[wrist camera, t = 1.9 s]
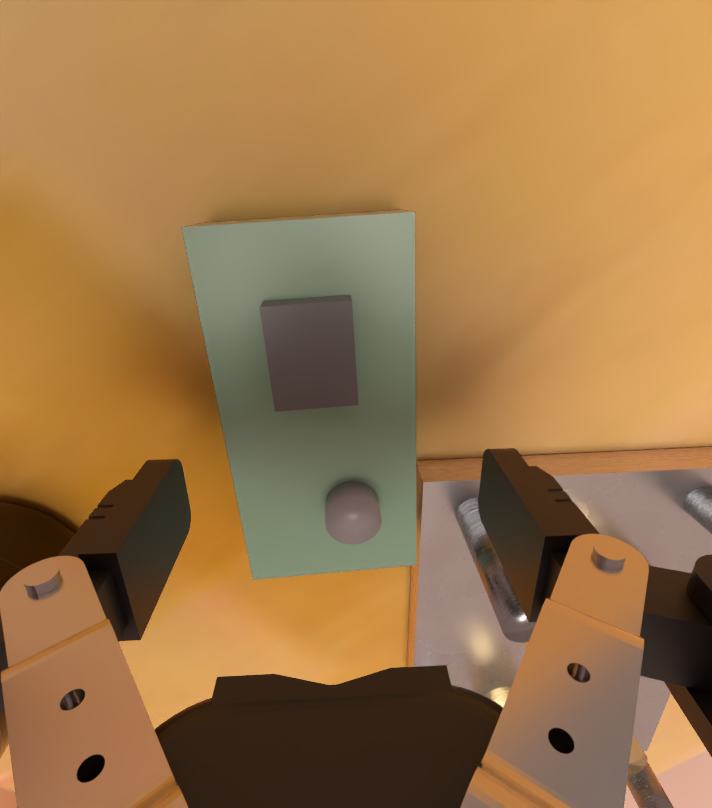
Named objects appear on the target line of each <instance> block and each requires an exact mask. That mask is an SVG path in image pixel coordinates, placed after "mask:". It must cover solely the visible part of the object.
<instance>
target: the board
mask: <svg viewBox="0 0 712 808" xmlns="http://www.w3.org/2000/svg"><path fill="white" fill-rule="evenodd" d="M181 228H182V233H183V238H184V243H185V248H186V253H187V258H188V263H189V268H190V272H191V277H192V282H193V287H194V292H195V297H196V302H197V307H198V312H199V317H200V322H201V326H202V331H203V336H204V341H205V346H206V351H207V356H208V361H209V366H210V371H211V376H212V380H213V385H214V390H215V395H216V400H217V405H218V410H219V415H220V420H221V425H222V430H223V434H224V439H225V444H226V449H227V454H228V459H229V464H230V469H231V474H232V479H233V484H234V489H235V493H236V498H237V503H238V508H239V513H240V518H241V523H242V528H243V533H244V538H245V543H246V547H247V552H248V557H249V562H250V567H251V572H252V577H253V580H256V579H267V578H278V577H289V576H300V575H311V574H322V573H333V572H345V571H356V570H367V569H378V568H389V567H400V566H411V565H417V526H416V333H415V212H413V211H407V210H385V211H369V212H354V213H339V214H324V215H309V216H294V217H279V218H264V219H249V220H233V221H218V222H205V223H200V224H195V225H190V226H185V227H181Z"/></svg>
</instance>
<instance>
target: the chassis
mask: <svg viewBox="0 0 712 808" xmlns="http://www.w3.org/2000/svg"><path fill="white" fill-rule="evenodd" d="M522 458H523V459H524V460H525V462H526V463H527V464H528V465H529V466H537V467H539V468H540V469H542V470H544V471H545V472H547V473H548V474H550V475H551V476H553V477H554V478H555V480H556V481H557V482H558V483H559V484H560V486H561V487H562V488H563V491H565V492H566V493H567V494H568V495H569V497H570V498H571V501H572V502H574V503H575V504H576V505H577V506H578V508H579V509H580V510H581V511H582V513H583V514H584V515H585V516H586V517H587V519H588V520H589V521H590V522H591V524H592V525H593V526H594V527H595V528H596V530H597V531H598V532H599V533H600V534H601V535H606V536H610V537H614V538H616V539H619V540H621V541H623V542H625V543H627V544H629V545H630V546H632V547H633V548H635V549H636V550H637V551H638V552H640V553H641V554H642V556H643V557H644V558H645V559H646V561H647V563H648V565H650V566H655V567H660V568H665V569H671V570H676V571H682V572H687V573H692V570H693V568H694V565H695V562H696V560H697V559H698V558H700V557H702V556H705V555H711V554H712V447H696V448H675V449H654V450H633V451H612V452H591V453H570V454H549V455H528V456H522ZM482 461H483V458H466V459H445V460H424V461H416V526H417V565H411V585H410V608H409V632H408V655H407V667H420V666H439V665H446V666H447V670H448V674H449V678H450V682H451V685H454V686H459V687H462V688H465V689H468V690H471V691H474V692H476V693H479V694H481V695H483V696H485V697H487V698H489V699H491V700H492V701H494V702H496V703H498V704H499V705H501V706H502V707H504V704H505V702H506V699H507V696H508V694H509V691H510V689H511V686H512V684H513V681H514V678H515V676H516V673H517V671H518V668H519V666H520V663H521V660H522V658H523V655H524V653H525V650H526V648H527V645H528V642H529V640H530V637H531V635H532V632H533V630H534V627H535V624H536V622H529V621H528V619H527V617H526V615H525V613H524V611H523V609H522V607H521V605H520V602H519V600H518V598H517V596H516V594H515V592H514V590H513V588H512V585H511V583H510V581H509V579H508V577H507V575H506V573H505V571H504V569H503V566H502V564H501V562H500V560H499V558H498V556H497V554H496V552H495V550H494V547H493V545H492V543H491V541H490V539H489V537H488V535H487V533H486V530H485V528H484V526H483V524H482V522H481V519H480V515H479V508H478V496H479V487H480V478H481V470H482ZM670 693H671V692H670V690H669V689H668V687H667V686H666V684H665V683H664V681H660V680H656V679H652V678H648V677H643V676H640V682H639V690H638V698H637V706H636V714H635V722H634V730H633V737H632V745H631V753H630V761H629V769H628V777H627V786H628V788H629V789H630V791H631V793H632V795H633V797H634V799H635V801H636V803H637V805H638V807H639V808H674V807H673V806H672V804H671V802H670V801H669V799H668V797H667V795H666V794H665V792H664V790H663V788H662V786H661V785H660V783H659V781H658V779H657V778H656V776H655V774H654V772H653V771H652V769H651V767H650V765H649V764H648V762H647V756H646V755H645V753H644V751H647V749H648V747H649V745H650V742H651V740H652V737H653V735H654V732H655V730H656V727H657V725H658V723H659V720H660V718H661V715H662V713H663V710H664V708H665V706H666V703H667V701H668V698H669V696H670Z"/></svg>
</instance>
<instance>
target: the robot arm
mask: <svg viewBox="0 0 712 808" xmlns="http://www.w3.org/2000/svg"><path fill="white" fill-rule="evenodd" d="M478 508H479V515H480V519H481V522H482V524H483V526H484V528H485V530H486V533H487V535H488V537H489V539H490V541H491V543H492V545H493V547H494V550H495V552H496V554H497V556H498V558H499V560H500V562H501V564H502V566H503V569H504V571H505V573H506V575H507V577H508V579H509V581H510V583H511V585H512V588H513V590H514V592H515V594H516V596H517V598H518V600H519V602H520V605H521V607H522V609H523V611H524V613H525V615H526V617H527V619H528V621H529V622H536V624H535V627H534V630H533V632H532V635H531V637H530V640H529V642H528V645H527V648H526V650H525V653H524V655H523V658H522V660H521V663H520V666H519V668H518V671H517V673H516V676H515V678H514V681H513V684H512V686H511V689H510V691H509V694H508V696H507V699H506V702H505V704H504V707H502V706H501V705H499V704H498V703H496V702H494V701H492V700H491V699H489V698H487V697H485V696H483V695H481V694H479V693H476V692H474V691H471V690H468V689H465V688H462V687H459V686H454V685H451V682H450V678H449V674H448V670H447V666H446V665H439V666H420V667H400V668H389V669H386V670H383V671H380V672H376V673H373V674H370V675H367V676H364V677H360V678H357V679H354V680H351V681H347V682H344V683H341V684H337V685H325V684H321V683H316V682H311V681H306V680H301V679H296V678H291V677H286V676H281V675H276V674H266V675H247V676H227V677H217V680H216V684H215V688H214V692H213V696H212V698H210V699H207V700H204V701H202V702H199V703H197V704H195V705H192V706H190V707H188V708H186V709H185V710H183V711H181V712H179V713H177V714H175V715H174V716H173V717H171V718H170V719H168V720H167V721H165V722H164V723H162V724H161V725H160V726H158V727H157V728H156V729H155V730H154V728H153V725H152V723H151V720H150V718H149V715H148V713H147V710H146V708H145V706H144V703H143V701H142V698H141V696H140V693H139V691H138V688H137V686H136V684H135V681H134V679H133V676H132V674H131V671H130V669H129V666H128V664H127V662H126V659H125V657H124V654H123V652H122V649H121V647H120V645H119V641H128V640H141V638H142V635H143V633H144V631H145V629H146V627H147V624H148V622H149V620H150V618H151V615H152V613H153V611H154V609H155V606H156V604H157V602H158V600H159V597H160V595H161V593H162V591H163V588H164V586H165V584H166V582H167V579H168V577H169V575H170V573H171V570H172V568H173V566H174V564H175V561H176V559H177V557H178V555H179V552H180V550H181V548H182V546H183V543H184V541H185V539H186V537H187V534H188V532H189V528H190V521H191V511H190V505H189V499H188V494H187V489H186V483H185V478H184V473H183V468H182V464H181V462H180V461H179V460H178V459H167V460H148V461H146V462H145V464H144V465H143V466H142V468H141V469H140V470H139V472H138V473H137V474H136V476H135V477H134V478H133V480H125V481H124V482H122V483H121V484H119V485H118V486H116V487H115V488H113V489H112V490H110V491H109V492H108V493H107V494H106V495H105V497H104V498H103V499H102V501H101V502H100V503H99V504H98V508H95V509H94V511H93V512H92V513H91V514H90V516H89V519H88V520H86V521H85V522H84V523H83V525H82V526H81V527H80V528H79V530H78V531H77V532H76V533H75V535H74V536H73V537H72V538H71V540H70V541H69V542H68V544H67V545H66V546H65V547H64V549H63V550H62V551H61V552H60V554H59V555H58V556H57V557H51V558H47V559H44V560H41V561H38V562H36V563H34V564H32V565H30V566H28V567H26V568H24V569H23V570H21V571H19V572H18V573H17V574H15V575H14V576H13V577H12V578H11V579H10V580H8V581H7V583H6V584H5V585H4V586H3V588H2V590H1V591H0V714H1V713H4V712H5V715H6V723H7V731H8V739H9V747H10V755H11V763H12V771H13V779H14V787H15V795H16V802H17V808H624V801H625V792H626V785H627V777H628V769H629V761H630V753H631V745H632V737H633V730H634V722H635V714H636V706H637V698H638V690H639V682H640V676H643V677H648V678H652V679H656V680H660V681H664V683H665V684H666V686H667V687H668V689H669V690H670V692H671V694H672V695H673V697H674V698H675V700H676V701H677V703H678V705H679V706H680V708H681V709H682V711H683V713H684V714H685V716H686V717H687V719H688V720H689V722H690V724H691V725H692V727H693V728H694V730H695V731H696V733H697V735H698V736H699V738H700V739H701V741H702V743H703V744H704V746H705V747H706V749H707V750H708V752H709V754H710V755H711V757H712V554H711V555H705V556H702V557H700V558H698V559H697V560H696V562H695V565H694V568H693V570H692V573H687V572H682V571H676V570H671V569H665V568H660V567H655V566H650V565H648V563H647V561H646V559H645V558H644V557H643V556H642V554H641V553H640V552H638V551H637V550H636V549H635V548H633V547H632V546H630V545H629V544H627V543H625V542H623V541H621V540H619V539H616V538H614V537H610V536H606V535H601V534H600V533H599V532H598V531H597V530H596V528H595V527H594V526H593V525H592V524H591V522H590V521H589V520H588V519H587V517H586V516H585V515H584V514H583V513H582V511H581V510H580V509H579V508H578V506H577V505H576V504H575V503H574V502H572V501H571V498H570V497H569V495H568V494H567V493H566V492H565V491H563V488H562V487H561V486H560V484H559V483H558V482H557V481H556V480H555V478H554V477H553V476H551V475H550V474H548V473H547V472H545V471H544V470H542V469H540V468H539V467H537V466H529V465H528V464H527V463H526V462H525V460H524V459H523V458H522V456H521V455H520V454H519V452H518V451H517V450H516V449H514V448H509V449H487V450H485V452H484V455H483V461H482V470H481V478H480V487H479V496H478Z"/></svg>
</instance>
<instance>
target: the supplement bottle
mask: <svg viewBox="0 0 712 808" xmlns="http://www.w3.org/2000/svg"><path fill="white" fill-rule="evenodd" d="M74 535H75V534H74V533H73V532H72V531H71V530H70V529H69V528H68V527H66V526H65V525H64V524H62V523H61V522H59V521H58V520H56V519H54V518H52V517H51V516H49V515H46V514H44V513H42V512H40V511H37V510H35V509H32V508H28V507H25V506H21V505H17V504H11V503H4V502H0V591H1V590H2V588H3V586H4V585H5V584H6V583H7V581H8V580H10V579H11V578H12V577H13V576H14V575H15V574H17V573H18V572H19V571H21V570H23V569H24V568H26V567H28V566H30V565H32V564H34V563H36V562H38V561H41V560H44V559H47V558H51V557H57V556H58V555H59V554H60V552H61V551H62V550H63V549H64V547H65V546H66V545H67V544H68V542H69V541H70V540H71V538H72V537H73V536H74ZM8 744H9V739H8V731H7V723H6V715H5V712H4V713H1V714H0V758H1V756H2V754H3V753H4V751H5V749H6V748H7V746H8Z"/></svg>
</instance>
